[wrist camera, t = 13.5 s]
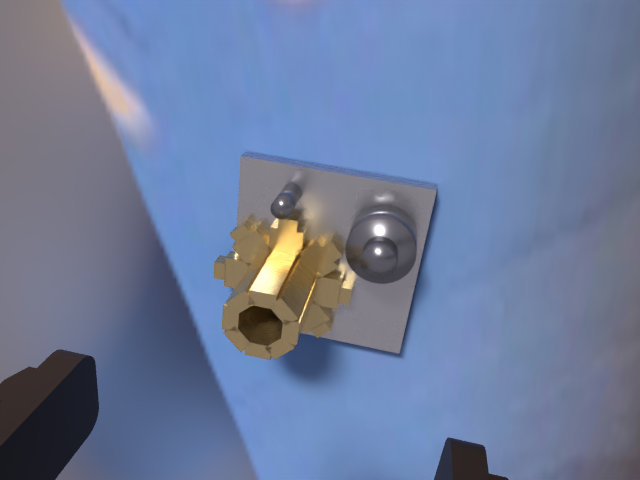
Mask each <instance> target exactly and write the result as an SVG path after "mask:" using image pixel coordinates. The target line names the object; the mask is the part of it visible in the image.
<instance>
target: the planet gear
mask: <svg viewBox="0 0 640 480" xmlns="http://www.w3.org/2000/svg"><path fill="white" fill-rule="evenodd" d="M300 220H301V215H298V214H292V213H291V214H290V215H289V217H287V218H286V219H278V221H274V222H273V224H272V225H271V227H270V235H269V233H268V232H267V231H266V230H265V228H264V227H263V226H262V225H261V224H259V225H258V226H256V227H254V225H253V224H252V223H251V222H250V220H249V219H247V220H245V221H244V222H242V223H241V224H240V225H238V226H237V227H235V228H234V229H233V231H232V232H231V233H230V236H231V237H232V238H233V239H234V240H235V243H234V244H233V246H232V248H233V249H234V250H235V251H236V252H232V251H230V253H229V254H228V255H227V257H226V256H221V255H220V256H219V257H218V258H217V260H216V261H215V262H214V278H217V279H221V280H224V286H226V287H231V288H235V289H234V290H233V292H232V294H231V295H230V297H229V298H228V300H227V301H226V303H225V305H224V306H223V319H222V329H223V330H225V332H224V334H225V335H226V337H227V338H228V339H229V340H230V341H231V342H232V343H233V344H234V345H235V347H236V348H237V349H238V350H239V351H240V352H242V351H243V350H245V355H249V356H254V357H258V358H263V359H267V360H270V359H271V357H273V358H274V360H275V359H276V358H278V357H280V356H282V355H284V354H285V353H287V352H289V351H291V350H293V349H294V348H295V346H296V345H297V343H298V341H299V338H300V335H301V333H302V331H303V332H304V333H307V332H309V331H311V332H312V333H313V334H314V335H315V337H316V338H318V337H320V336H322V335H324V334H326V333H327V332H329V331H331V329H332V325H333V321H332V320H331V319H330V317H331V314H332V310H331V309H330V308H334V309H337V308H338V305H339V303H340V304H345V305H349V304H350V300H351V296H352V290H353V284H354V282H353V281H348V280H343V277H344V273H339V272H334V271H333V270H335V269H336V268H338V266H339V263H340V259H339V258H341V257H342V256H343V254H344V251H345V249H344V247H343V246H342V245H341V243H340V242H339V241H338V240H337V238H336V237H335V236H334V235H332V236H331V237H329V238H328V239H326V240H324V239H323V238H322V236H321V235H319V236H318V237H316V238H315V239H313V240H311V241H310V242H308V243H307V244H305V240H306V232H307V227H305V226H300Z"/></svg>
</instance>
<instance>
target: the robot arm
mask: <svg viewBox="0 0 640 480" xmlns="http://www.w3.org/2000/svg"><path fill="white" fill-rule="evenodd" d="M98 411H99V402H98V389H97V377H96V365H95V360H94V358H93V357H91V356H88V355H84V354H79V353H74V352H70V351H66V350H56V351H55V352H53V353H52V354H51V355H50V356H49V357H48V358H47V359H46V360H45V361H44V362H43V363H42V364H41V365H40V366H39V367H38V368H32V367H28V368H26V369H24V370H22V371H20V372H18V373H17V374H14V375H13V376H11V377H9V378H7V379H5V380H4V381H3V382H2V383H1V384H0V480H55V479H56V478H57V476H58V475H59V474H60V472H61V471H62V470H63V469H64V467H65V466H66V465H67V463H68V462H69V461H70V459H71V458H72V457H73V456H74V454H75V453H76V452H77V450H78V449H79V448H80V446H81V445H82V444H83V442H84V441H85V440H86V439H87V437H88V436H89V434H90V433H91V431H92V430H93V427H94V425H95V423H96V420H97V416H98ZM434 480H508V478H506V477H502V476H497V475H493V474H489V472H488V465H487V457H486V450H485V447H484V446H483V445H480V444H475V443H471V442H466V441H462V440H458V439H453V438H447V440H446V442H445V445H444V448H443V452H442V455H441V458H440V462H439V465H438V468H437V471H436V475H435V478H434Z"/></svg>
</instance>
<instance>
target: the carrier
mask: <svg viewBox="0 0 640 480" xmlns="http://www.w3.org/2000/svg"><path fill="white" fill-rule="evenodd" d="M436 192H437V185H435V184H429V183H424V182H418V181H412V180H406V179H400V178H395V177H389V176H383V175H377V174H371V173H366V172H360V171H354V170H348V169H342V168H337V167H331V166H325V165H319V164H313V163H308V162H302V161H296V160H290V159H284V158H279V157H273V156H267V155H261V154H255V153H250V152H245V153H244V154H243V155H242V156H241V162H240V180H239V197H238V215H237V226H238V225H240V224H241V223H242V222H244V221H245V220H247V219H249V220H250V222H251V223H252V224H253V225H254V227H256V226H258V225H259V224H261V225H262V226H263V227H264V228H265V230H266V231H267V232H268V233H269V235H270V227H271V225H272V224H273V222H274V221H278V219H286V218H287V217H289V215H290V214H291V213H292V214H298V215H301V220H300V226H305V227H307V232H306V240H305V244H307V243H308V242H310V241H311V240H313V239H315V238H316V237H318V236H319V235H321V236H322V238H323V239H324V240H326V239H328V238H329V237H331V236H332V235H334V236H335V237H336V238H337V240H338V241H339V242H340V243H341V245H342V246H343V247H344V249H345V251H344V254H343V256H342V257H341V258H339V259H340V263H339V266H338V268H336V269H335V270H333V271H334V272H339V273H344V277H343V280H348V281H353V282H354V284H353V290H352V296H351V300H350V304H349V305H345V304H340V303H339V305H338V308H337V309H334V308H330V309H331V310H332V314H331V317H330V319H331V320H332V321H333V325H332V329H331V331H329V332H327V333H326V334H324V335H322V336H320V337H322V338H327V339H331V340H336V341H341V342H346V343H351V344H355V345H360V346H365V347H370V348H375V349H379V350H384V351H389V352H394V353H398V354H399V353H400V349H401V345H402V340H403V336H404V332H405V327H406V323H407V319H408V314H409V310H410V305H411V301H412V297H413V292H414V288H415V284H416V279H417V275H418V271H419V266H420V262H421V257H422V253H423V249H424V244H425V240H426V236H427V231H428V227H429V223H430V218H431V214H432V209H433V205H434V201H435V196H436ZM235 252H236V251H235ZM234 289H235V288H233V290H234ZM302 333H303V334H308V335H312V336H315V335H314V334H313V333H312V332H311V331H309V332H307V333H304V332H303V331H302Z"/></svg>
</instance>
